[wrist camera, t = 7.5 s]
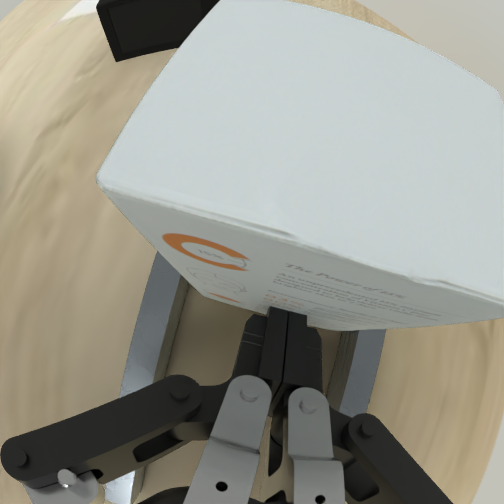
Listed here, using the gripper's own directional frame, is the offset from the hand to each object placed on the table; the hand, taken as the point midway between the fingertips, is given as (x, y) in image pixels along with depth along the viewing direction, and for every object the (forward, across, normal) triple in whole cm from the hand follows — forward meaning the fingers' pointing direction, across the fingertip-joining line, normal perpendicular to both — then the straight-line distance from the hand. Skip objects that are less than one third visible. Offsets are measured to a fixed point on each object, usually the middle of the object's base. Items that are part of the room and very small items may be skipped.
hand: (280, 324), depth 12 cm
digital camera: (+19, +15, -13) cm, 27 cm away
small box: (+6, 0, +1) cm, 6 cm away
